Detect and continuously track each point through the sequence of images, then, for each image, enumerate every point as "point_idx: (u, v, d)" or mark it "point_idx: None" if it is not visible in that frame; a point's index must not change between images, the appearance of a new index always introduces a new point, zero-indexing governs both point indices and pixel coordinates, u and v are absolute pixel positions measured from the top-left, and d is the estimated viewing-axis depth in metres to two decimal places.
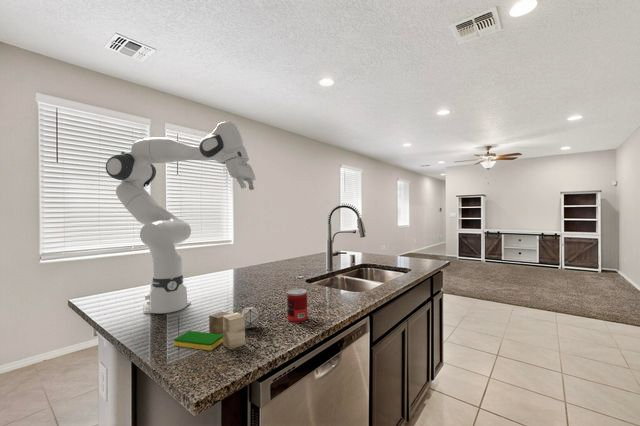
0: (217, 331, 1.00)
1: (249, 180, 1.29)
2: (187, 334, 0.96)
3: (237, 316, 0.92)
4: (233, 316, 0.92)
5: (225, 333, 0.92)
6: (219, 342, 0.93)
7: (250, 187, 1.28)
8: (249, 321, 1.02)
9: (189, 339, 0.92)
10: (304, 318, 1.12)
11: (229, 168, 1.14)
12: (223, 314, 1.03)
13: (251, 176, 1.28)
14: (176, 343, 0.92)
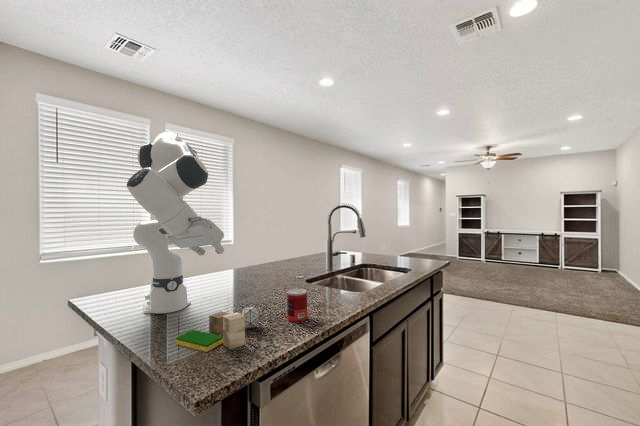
0: (217, 331, 1.00)
1: None
2: (190, 333, 0.97)
3: (237, 316, 0.92)
4: (233, 316, 0.92)
5: (225, 333, 0.92)
6: (217, 344, 0.92)
7: None
8: (249, 321, 1.02)
9: (189, 338, 0.93)
10: (304, 318, 1.12)
11: None
12: (223, 314, 1.03)
13: (205, 244, 0.82)
14: (177, 341, 0.93)
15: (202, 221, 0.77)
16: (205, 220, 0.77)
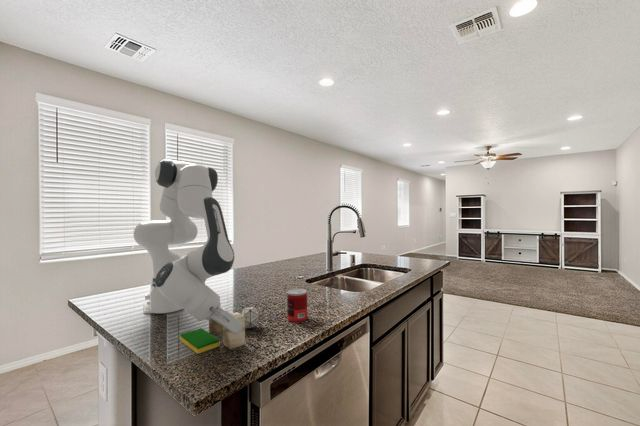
0: (217, 331, 1.00)
1: None
2: (195, 331, 0.98)
3: (237, 316, 0.92)
4: None
5: (225, 333, 0.92)
6: (211, 347, 0.90)
7: None
8: (249, 321, 1.02)
9: (190, 337, 0.94)
10: (304, 318, 1.12)
11: None
12: None
13: None
14: (181, 338, 0.96)
15: (220, 316, 0.80)
16: (222, 316, 0.80)
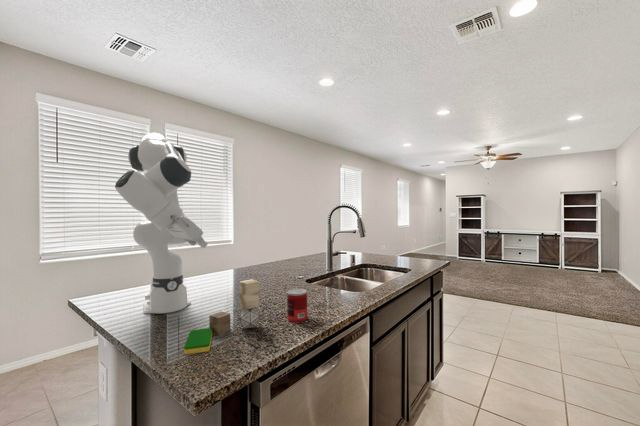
0: (217, 331, 1.00)
1: None
2: (203, 330, 0.99)
3: (252, 281, 1.05)
4: (248, 281, 1.05)
5: (241, 296, 1.05)
6: (199, 350, 0.88)
7: None
8: (249, 322, 1.02)
9: (192, 335, 0.95)
10: (304, 318, 1.12)
11: None
12: (223, 314, 1.03)
13: (187, 238, 0.90)
14: None
15: (179, 220, 0.84)
16: (181, 220, 0.83)
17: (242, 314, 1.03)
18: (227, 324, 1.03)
